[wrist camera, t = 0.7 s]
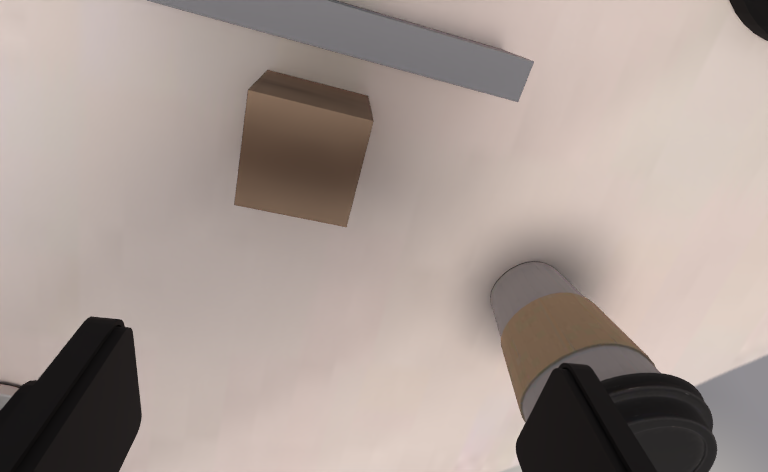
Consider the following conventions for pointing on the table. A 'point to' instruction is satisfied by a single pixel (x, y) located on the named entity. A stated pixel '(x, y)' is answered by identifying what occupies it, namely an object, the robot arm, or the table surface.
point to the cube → (302, 148)
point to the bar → (375, 40)
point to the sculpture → (753, 15)
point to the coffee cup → (598, 365)
